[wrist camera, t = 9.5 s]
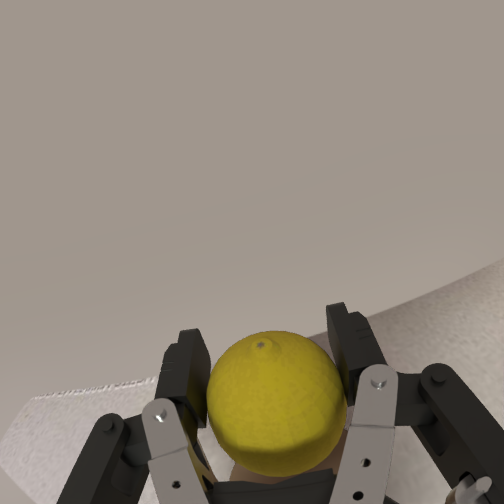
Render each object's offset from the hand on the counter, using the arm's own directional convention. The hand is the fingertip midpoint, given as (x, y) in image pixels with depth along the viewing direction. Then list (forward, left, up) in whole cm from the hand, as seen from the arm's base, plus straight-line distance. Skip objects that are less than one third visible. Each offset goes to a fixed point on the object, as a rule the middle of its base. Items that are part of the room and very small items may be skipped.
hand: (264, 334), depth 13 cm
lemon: (-2, +2, -6) cm, 7 cm away
